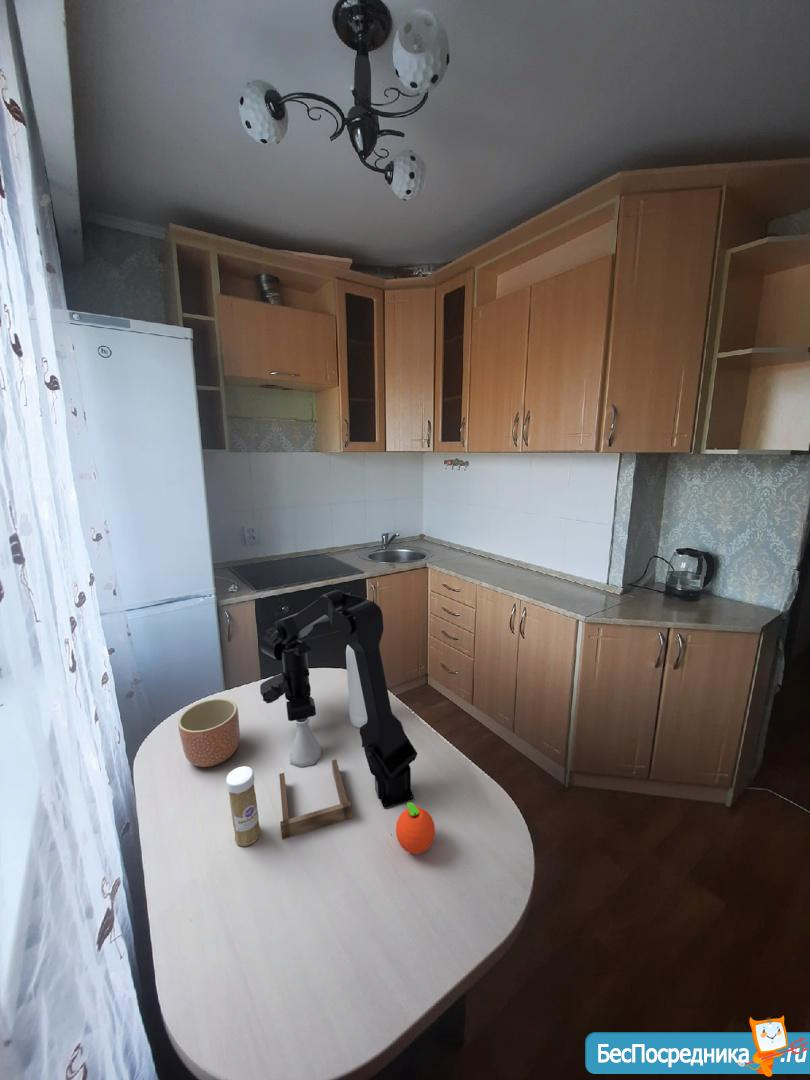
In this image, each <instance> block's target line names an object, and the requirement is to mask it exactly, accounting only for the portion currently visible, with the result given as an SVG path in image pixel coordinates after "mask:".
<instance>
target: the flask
mask: <svg viewBox="0 0 810 1080" xmlns="http://www.w3.org/2000/svg"><path fill="white" fill-rule="evenodd" d="M294 721H295V723H294V724H296V734H295V738H294V742H293V745H292V749H291V752H290V757H289V758H290V760H289V764H291V765H294V766H296V767H299V768H302V767H307V766H308V767H309V766H314V765H315V764H316V763H317V761H319V759H320V758H321V757H322V749H321V745H320V744H319V742H318V741H317V739H316V737H315V735H314V733H313V732H312V730H311V726H310V724H309V721H310V717H307V718H303V719H299V720H294Z"/></svg>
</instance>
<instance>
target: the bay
mask: <svg viewBox="0 0 810 1080" xmlns="http://www.w3.org/2000/svg"><path fill="white" fill-rule="evenodd" d="M331 766H332V767H331V769H332V774H333V778H334V782H335V788H336V791H337V796H338V800H339V804H335V805H332V806H328V807H325V808H322V809H319V810H316V811H312V812H308V813H305V814H304V813H303V814H302V815H298V816H295V817H291V818H290V817H289V807H288V799H287V798H288V797H287V796H288V795H287V786H286V785H287V784H286V777H285V772H282V773H279V774H278V777H279V787H280V789H279V790H280V800H281V814H282V820H281V821H280V822H279V823H280V825H279V827H280V833H281V840H285V839H288V838H292V837H294V836H298V835H301V834H305V833H308V832H312V831H314V830H318V829H321V828H323V827H328V826H330V825H331V826H332V825H334V824H338V823H340V822H344V821H347V820H350V819H352V818H353V814H352V813H353V812H352V810H353V809H352V804H351V801H350V800H349V801H348V799H347V794H346V791H345V787H344V783H343V778H342V775H341V771H340V767H339V764H338V760H337V758H335V759H332V760H331Z"/></svg>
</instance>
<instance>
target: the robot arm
mask: <svg viewBox="0 0 810 1080" xmlns="http://www.w3.org/2000/svg"><path fill="white" fill-rule="evenodd" d="M340 609H343V610H342V611H341V612H340V611H338V610H340ZM326 617H327V618H328V620H329V623H330V625H331V627H333V628H334V629H336V630H337V631H338V632H340V633H341V635H342V639H343V641H344V643H346V644H347V645H349V646H350V647H351V648H352V649H353V650H354V653H355V658H356V663H357V668H358V673H359V678H360V683H361V688H362V693H363V698H364V703H365V708H366V713H367V718H368V719H367V723H366V724H364V725H363V726H362V727H360V728H359V736H360V739H361V748H363V750H364V756H365V758H366V761H367V764H368V767H369V771H370V773H371V775H373V776H374V786H375V787H374V790H375V794H376V796H377V798H378V799H379V800H380V802H381V805H382V807H383V808H384V809H388V808H390V807H393V806H397V805H400V804H403V803H408V802H410V801H414V800H415V795H414V792H413V791H412V779H411V777H412V775H411V774H412V773H411V772H412V770H411V765H410V764H411V763H413V762H415V760H416V758H417V756H418V752H417V750H416V749H415V747H414V745H413V744H412V742H411V741H410V739H409V737H408V736H407V734H406V733H405V729H404V727H403V723H402V721H401V720H399V719H398V718H397V716H396V715H395V714H394V713H393V711H392V707H391V701H390V697H389V690H388V686H387V681H386V676H385V670H384V665H383V661H382V653H381V649H380V643H381V640H382V637H383V632H384V618H383V617H384V616H383V611H382V608H381V607H380V606H379V605H378V604H377V603H375V602H374V601H373V600H369V599H368V598H366V597H364V596H360V595H355V594H351V593H350V594H349V593H346V592H345V591H343V590H341V589H335V590H332V591H330V592H327V593H324V594H321V595H320V596H319V597H318V598H317V599H316V600H315V601H313V602H312V603H310V604H308V606H306V607H304V608H303V609H302V610H301V611H299V612H296V613H295V614H294V613H293V614H292V615H291V614H290V615H289V616H287V617H286V616H285V617H284V618H282V619H279V620H276V621H275V623H274V627H271V628H268V629H265V635H264V636H263V637H262V639H261V642H260V643H259V646H260V647H259V648H260V651H261V652H262V653H263V654H265V655H267V656H269V657H271V658H273V659H275V660H276V661H282V668H281V673H280V674H278V675H275V676H273V677H271V678H269V679H267V680H265V681H263V682H262V683H261V684H260V687H259V690H260V691H259V692H260V695H261V696H262V700H263V702H265V703H266V704H272V703H274V702H276V701H278V700H279V699H280V697H282V696H284V698H285V699H286V700H287V701H286V712H287V713H286V714H287V720H288V721H289V722H294V721H295V720H299V719H303V718H307V717H309V718H313V717H314V716H316V715H317V710H316V704H315V699H314V698H312V696H311V691H312V687H311V684H310V670H309V664H308V663H309V662H308V653H309V652H311V651H312V647H311V645H309V644H307V642H306V641H301V640H299V639H301V638H303V637H306V636H308V634H309V633H310V632H311V631H312V630H313V628H314V627H313V626H315V624H317V623H319V622H320V621H321V620H323V619H324V618H326Z"/></svg>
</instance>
